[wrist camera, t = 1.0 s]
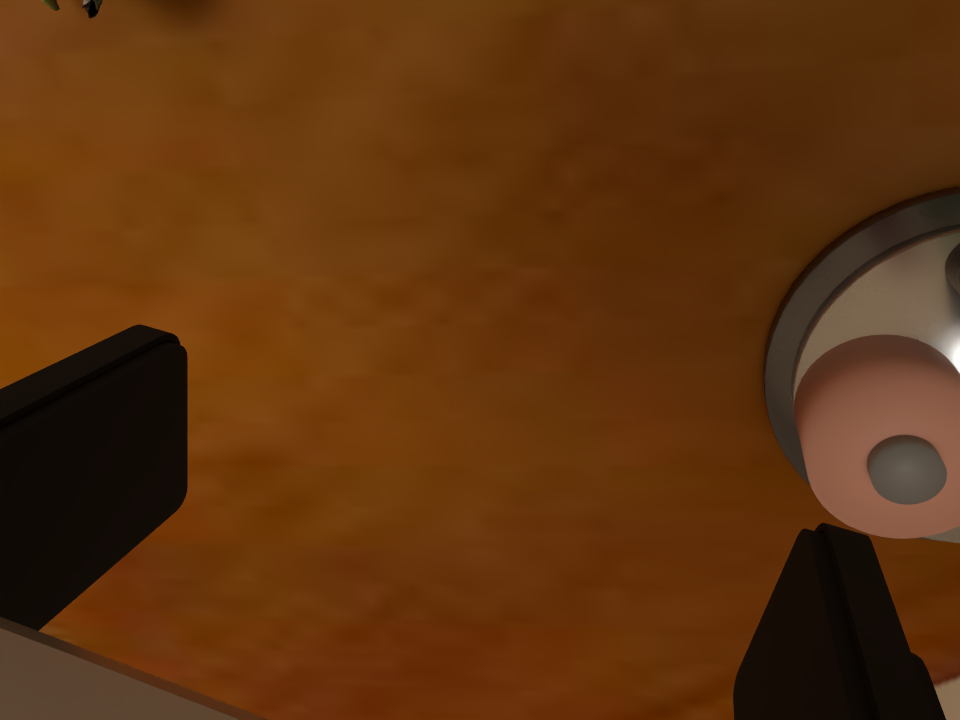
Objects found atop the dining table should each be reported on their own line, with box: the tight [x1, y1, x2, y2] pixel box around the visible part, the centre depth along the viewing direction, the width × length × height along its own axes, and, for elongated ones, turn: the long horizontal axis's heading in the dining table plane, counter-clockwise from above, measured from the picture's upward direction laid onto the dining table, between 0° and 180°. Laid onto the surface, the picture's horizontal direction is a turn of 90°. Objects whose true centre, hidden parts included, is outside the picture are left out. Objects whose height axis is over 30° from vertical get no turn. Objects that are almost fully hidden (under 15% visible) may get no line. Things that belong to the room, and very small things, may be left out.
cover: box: [794, 334, 960, 539], centre depth 26 cm, size 6×6×5 cm
